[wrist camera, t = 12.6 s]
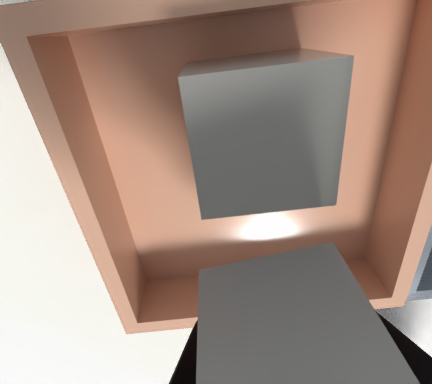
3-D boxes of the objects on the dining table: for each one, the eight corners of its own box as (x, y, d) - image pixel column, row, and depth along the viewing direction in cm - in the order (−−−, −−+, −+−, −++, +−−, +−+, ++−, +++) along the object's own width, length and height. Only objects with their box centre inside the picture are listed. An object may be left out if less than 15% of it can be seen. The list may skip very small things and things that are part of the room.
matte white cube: (301, 47, 10) (354, 55, 6) (297, 154, 12) (336, 205, 8) (187, 62, 10) (177, 76, 6) (202, 165, 12) (201, 219, 8)
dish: (435, -36, 9) (527, -63, 7) (370, 260, 16) (404, 306, 13) (46, 14, 9) (-15, 7, 7) (139, 284, 16) (126, 334, 13)
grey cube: (333, 241, 8) (430, 399, 5) (337, 326, 10) (408, 482, 7) (199, 270, 8) (194, 435, 5) (228, 346, 10) (240, 503, 7)
